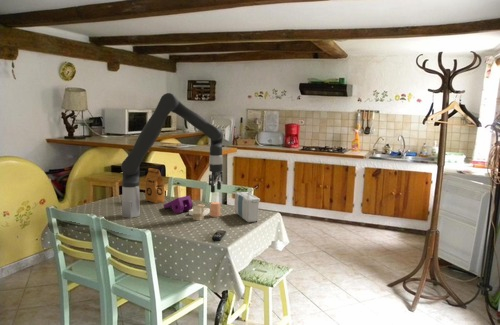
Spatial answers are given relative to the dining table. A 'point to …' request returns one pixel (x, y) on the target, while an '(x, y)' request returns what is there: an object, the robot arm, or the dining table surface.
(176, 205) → the mounting bracket
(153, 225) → the dining table surface
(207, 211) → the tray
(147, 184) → the coffee package
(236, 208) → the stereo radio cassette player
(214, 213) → the terracotta block
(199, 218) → the birch block
